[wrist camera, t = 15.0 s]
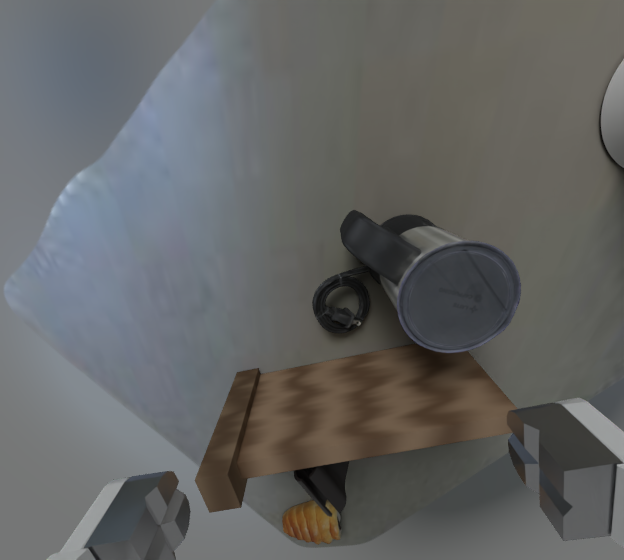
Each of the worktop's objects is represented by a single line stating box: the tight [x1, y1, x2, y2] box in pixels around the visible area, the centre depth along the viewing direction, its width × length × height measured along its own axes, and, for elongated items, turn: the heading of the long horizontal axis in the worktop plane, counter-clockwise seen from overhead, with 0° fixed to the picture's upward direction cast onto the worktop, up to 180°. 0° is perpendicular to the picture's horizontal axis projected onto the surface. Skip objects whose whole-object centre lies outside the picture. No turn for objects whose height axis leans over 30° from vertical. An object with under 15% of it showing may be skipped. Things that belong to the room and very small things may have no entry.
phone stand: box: [294, 461, 349, 517], centre depth 39 cm, size 9×6×12 cm, turn 122°
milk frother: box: [312, 210, 521, 353], centre depth 32 cm, size 14×16×15 cm
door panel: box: [195, 343, 517, 512], centre depth 35 cm, size 29×5×16 cm, turn 103°
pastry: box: [283, 500, 342, 544], centre depth 50 cm, size 9×7×4 cm
